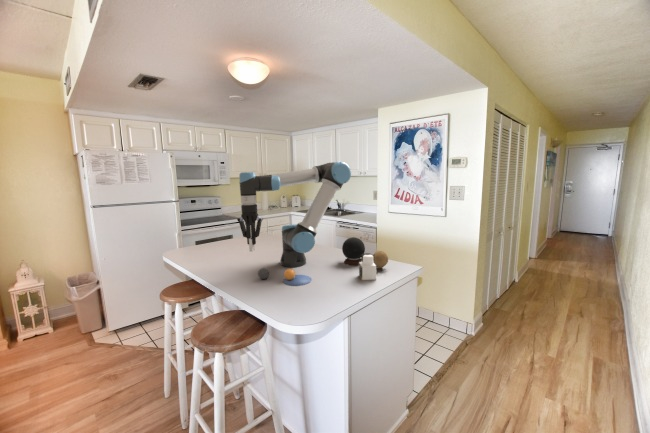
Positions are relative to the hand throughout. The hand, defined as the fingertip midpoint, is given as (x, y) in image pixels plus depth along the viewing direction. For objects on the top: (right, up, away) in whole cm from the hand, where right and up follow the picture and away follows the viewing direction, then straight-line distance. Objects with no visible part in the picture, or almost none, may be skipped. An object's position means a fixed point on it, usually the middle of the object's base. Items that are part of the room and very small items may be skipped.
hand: (252, 250), depth 143 cm
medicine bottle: (+58, -13, -1) cm, 59 cm away
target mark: (+23, -14, -2) cm, 27 cm away
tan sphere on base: (+66, -11, +12) cm, 68 cm away
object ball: (+19, -12, -2) cm, 22 cm away
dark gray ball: (+6, -12, 0) cm, 13 cm away
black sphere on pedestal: (+53, -10, +23) cm, 59 cm away
